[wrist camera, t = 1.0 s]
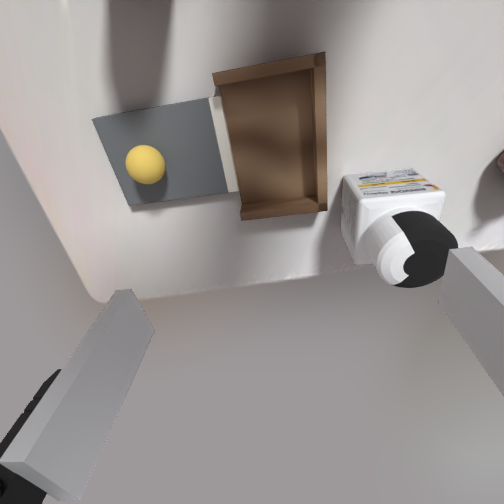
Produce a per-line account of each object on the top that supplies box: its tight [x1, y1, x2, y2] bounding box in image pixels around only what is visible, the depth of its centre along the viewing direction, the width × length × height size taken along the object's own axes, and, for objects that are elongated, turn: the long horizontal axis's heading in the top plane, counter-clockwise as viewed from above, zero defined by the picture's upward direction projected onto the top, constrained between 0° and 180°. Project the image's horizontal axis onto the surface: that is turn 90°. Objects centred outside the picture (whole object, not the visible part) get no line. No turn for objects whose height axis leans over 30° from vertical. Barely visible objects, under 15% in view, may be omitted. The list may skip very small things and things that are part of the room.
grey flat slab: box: [92, 95, 239, 205], centre depth 32 cm, size 10×14×1 cm
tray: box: [212, 52, 327, 221], centre depth 30 cm, size 15×10×3 cm, turn 9°
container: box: [341, 168, 458, 288], centre depth 29 cm, size 8×8×13 cm
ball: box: [125, 145, 165, 184], centre depth 30 cm, size 4×4×4 cm
